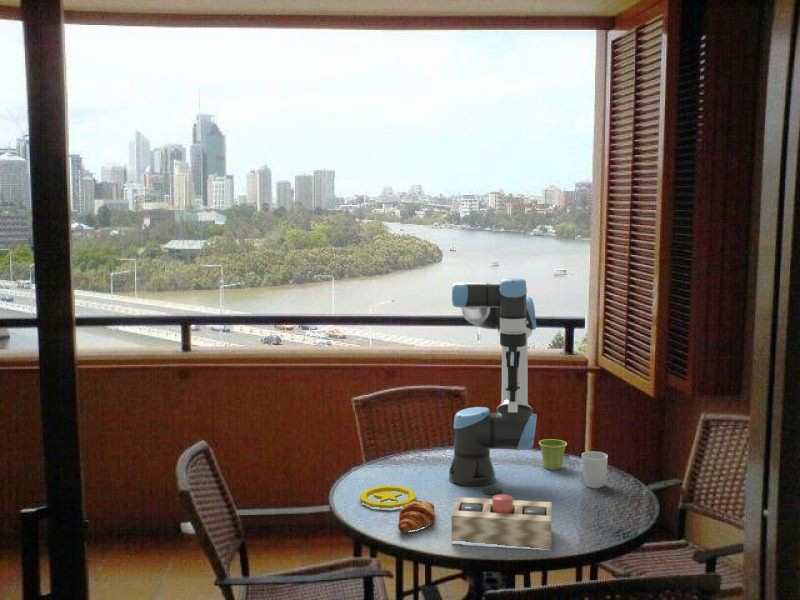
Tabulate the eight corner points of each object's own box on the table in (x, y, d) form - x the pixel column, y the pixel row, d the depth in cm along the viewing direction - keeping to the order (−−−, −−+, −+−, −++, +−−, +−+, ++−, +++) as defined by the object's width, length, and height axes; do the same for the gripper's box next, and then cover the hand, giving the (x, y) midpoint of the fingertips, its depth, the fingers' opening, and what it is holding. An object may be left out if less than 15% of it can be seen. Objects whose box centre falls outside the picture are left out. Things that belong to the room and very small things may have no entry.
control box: (451, 544, 218) (451, 515, 217) (457, 524, 232) (457, 497, 231) (550, 551, 214) (551, 521, 213) (551, 530, 227) (551, 502, 226)
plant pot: (538, 462, 286) (538, 438, 285) (565, 463, 285) (566, 439, 284) (539, 471, 277) (539, 446, 276) (567, 472, 276) (567, 447, 275)
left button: (460, 528, 222) (459, 510, 221) (462, 520, 227) (462, 502, 227) (480, 529, 221) (480, 511, 220) (482, 521, 226) (482, 504, 226)
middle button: (491, 519, 220) (491, 501, 219) (493, 511, 225) (493, 494, 225) (512, 520, 219) (512, 502, 218) (513, 512, 224) (513, 495, 224)
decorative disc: (410, 513, 242) (410, 506, 242) (353, 509, 246) (352, 502, 246) (421, 493, 258) (421, 487, 258) (367, 490, 262) (367, 484, 262)
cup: (605, 481, 266) (605, 451, 265) (609, 490, 258) (609, 459, 257) (579, 481, 267) (580, 451, 266) (582, 489, 259) (583, 458, 258)
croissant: (422, 521, 244) (411, 496, 245) (450, 509, 240) (439, 484, 241) (393, 546, 225) (381, 520, 226) (423, 535, 221) (410, 507, 222)
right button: (523, 531, 219) (523, 513, 218) (524, 524, 224) (524, 506, 223) (544, 533, 218) (544, 515, 217) (544, 525, 223) (544, 507, 222)
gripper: (525, 335, 231) (524, 417, 233) (527, 328, 243) (526, 406, 246) (498, 335, 232) (498, 416, 235) (501, 328, 245) (501, 405, 247)
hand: (512, 411), depth 240 cm, fingers closed
